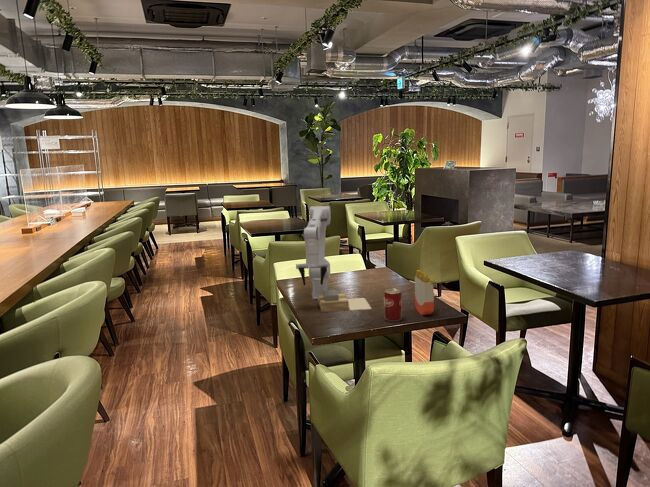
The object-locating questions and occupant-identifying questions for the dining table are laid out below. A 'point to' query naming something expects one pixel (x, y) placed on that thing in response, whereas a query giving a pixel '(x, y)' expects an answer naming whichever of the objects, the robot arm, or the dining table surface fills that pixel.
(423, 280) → the french fries container
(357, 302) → the placemat
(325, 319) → the dining table surface
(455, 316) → the dining table surface
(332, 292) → the slate tile
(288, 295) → the dining table surface
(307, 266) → the robot arm
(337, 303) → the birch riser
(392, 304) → the soda can
